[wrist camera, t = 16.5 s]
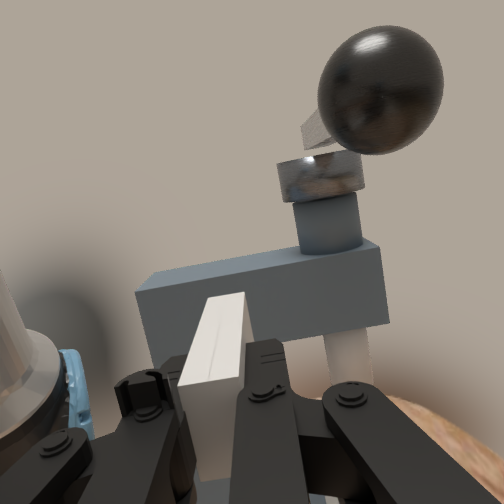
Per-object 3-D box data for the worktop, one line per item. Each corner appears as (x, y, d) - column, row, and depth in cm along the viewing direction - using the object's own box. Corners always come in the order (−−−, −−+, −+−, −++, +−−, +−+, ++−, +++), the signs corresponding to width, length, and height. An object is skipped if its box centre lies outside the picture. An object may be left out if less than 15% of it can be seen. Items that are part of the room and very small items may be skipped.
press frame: (201, 630, 32) (98, 248, 26) (215, 508, 44) (147, 226, 38) (474, 591, 31) (433, 185, 25) (414, 476, 43) (376, 182, 37)
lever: (320, 237, 13) (287, 25, 12) (280, 199, 34) (266, 120, 33) (510, 201, 13) (496, -18, 12) (353, 185, 34) (342, 105, 33)
